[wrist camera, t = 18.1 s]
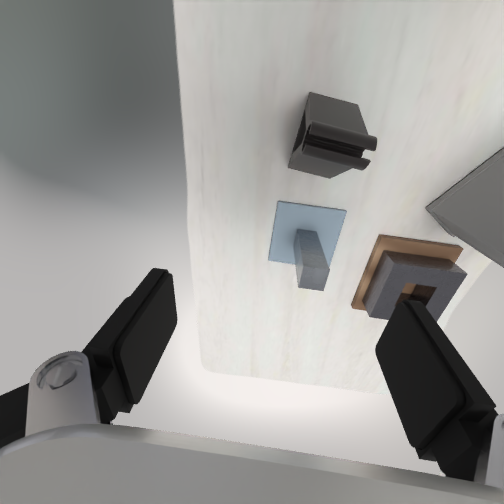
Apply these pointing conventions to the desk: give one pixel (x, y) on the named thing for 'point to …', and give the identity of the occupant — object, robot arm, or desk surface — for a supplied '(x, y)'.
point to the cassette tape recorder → (476, 209)
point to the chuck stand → (405, 247)
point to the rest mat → (307, 219)
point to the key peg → (310, 260)
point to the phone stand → (331, 138)
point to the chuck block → (416, 272)
